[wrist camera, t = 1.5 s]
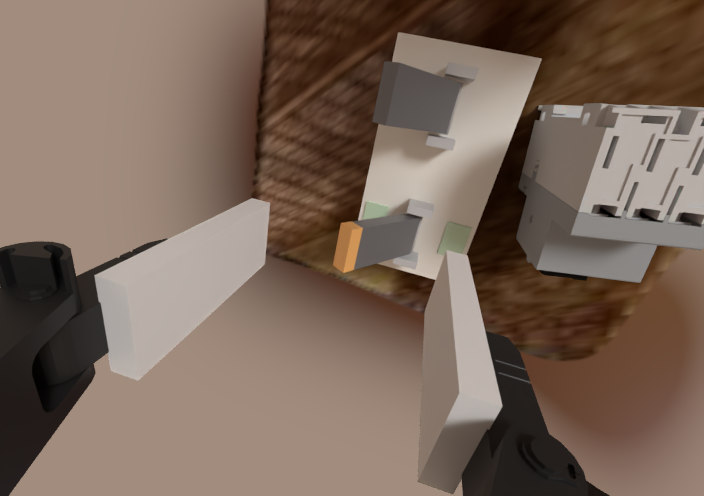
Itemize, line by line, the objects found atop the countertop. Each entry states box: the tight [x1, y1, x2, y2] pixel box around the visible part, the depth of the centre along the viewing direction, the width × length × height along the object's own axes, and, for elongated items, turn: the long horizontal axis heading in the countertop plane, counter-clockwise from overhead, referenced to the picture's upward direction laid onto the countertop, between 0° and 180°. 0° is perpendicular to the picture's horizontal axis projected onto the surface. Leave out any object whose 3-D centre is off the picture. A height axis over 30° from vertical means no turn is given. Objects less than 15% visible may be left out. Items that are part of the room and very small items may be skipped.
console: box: [358, 32, 542, 280], centre depth 33 cm, size 22×12×8 cm, turn 169°
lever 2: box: [333, 213, 423, 273], centre depth 31 cm, size 4×1×10 cm
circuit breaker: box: [516, 103, 704, 283], centre depth 27 cm, size 8×14×15 cm, turn 177°
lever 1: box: [372, 61, 464, 135], centre depth 26 cm, size 4×1×9 cm
